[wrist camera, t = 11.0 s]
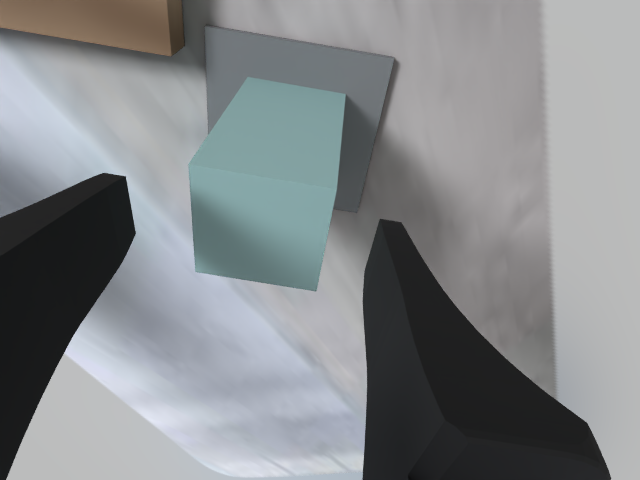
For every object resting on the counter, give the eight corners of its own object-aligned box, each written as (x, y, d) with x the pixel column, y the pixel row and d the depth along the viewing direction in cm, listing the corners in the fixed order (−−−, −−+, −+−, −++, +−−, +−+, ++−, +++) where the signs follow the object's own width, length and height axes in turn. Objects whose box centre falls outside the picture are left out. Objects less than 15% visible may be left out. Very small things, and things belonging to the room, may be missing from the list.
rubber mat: (357, 209, 23) (357, 212, 22) (211, 186, 22) (210, 189, 22) (393, 57, 18) (394, 58, 17) (206, 24, 17) (204, 26, 17)
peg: (329, 178, 21) (316, 291, 15) (244, 164, 21) (195, 272, 15) (345, 94, 18) (336, 189, 12) (247, 76, 18) (188, 164, 12)
